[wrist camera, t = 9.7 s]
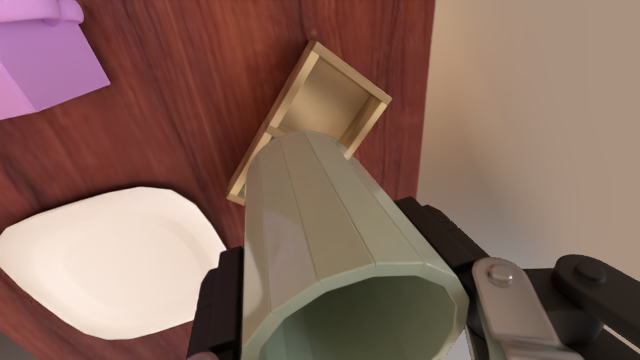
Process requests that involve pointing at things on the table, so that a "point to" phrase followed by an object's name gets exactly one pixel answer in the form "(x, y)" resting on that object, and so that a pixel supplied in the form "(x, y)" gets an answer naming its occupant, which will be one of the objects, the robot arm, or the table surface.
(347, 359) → the cup
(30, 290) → the plate
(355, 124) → the holder
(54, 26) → the teapot
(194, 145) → the table surface
